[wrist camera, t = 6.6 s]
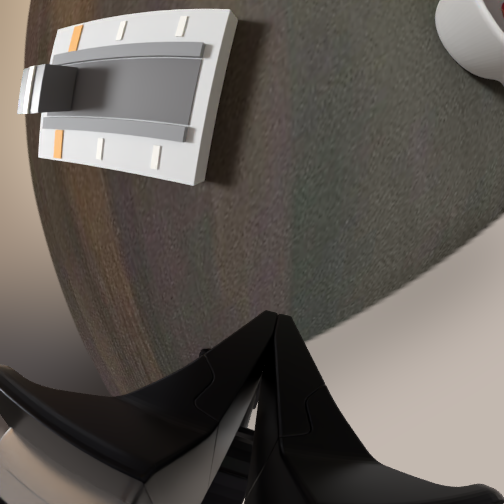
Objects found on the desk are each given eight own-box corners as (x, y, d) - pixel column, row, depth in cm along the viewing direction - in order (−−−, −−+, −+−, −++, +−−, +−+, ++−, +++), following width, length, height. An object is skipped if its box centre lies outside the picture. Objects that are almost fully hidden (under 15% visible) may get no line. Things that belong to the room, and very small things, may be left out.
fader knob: (70, 111, 18) (35, 113, 14) (48, 111, 18) (15, 114, 14) (77, 67, 16) (43, 63, 13) (54, 70, 16) (22, 68, 13)
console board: (204, 180, 20) (190, 187, 18) (53, 154, 22) (34, 158, 20) (238, 19, 15) (227, 6, 13) (72, 33, 17) (54, 29, 15)
